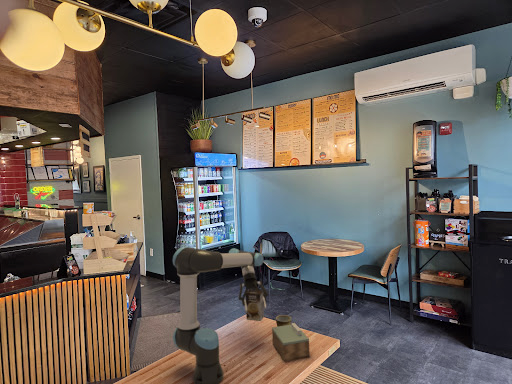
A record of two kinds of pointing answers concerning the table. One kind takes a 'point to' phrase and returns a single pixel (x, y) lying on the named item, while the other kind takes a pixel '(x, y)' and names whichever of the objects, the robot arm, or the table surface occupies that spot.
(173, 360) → the table surface
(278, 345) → the toolbox
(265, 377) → the table surface
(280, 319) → the ceramic cup
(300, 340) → the lid
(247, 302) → the coffee box
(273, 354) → the table surface
